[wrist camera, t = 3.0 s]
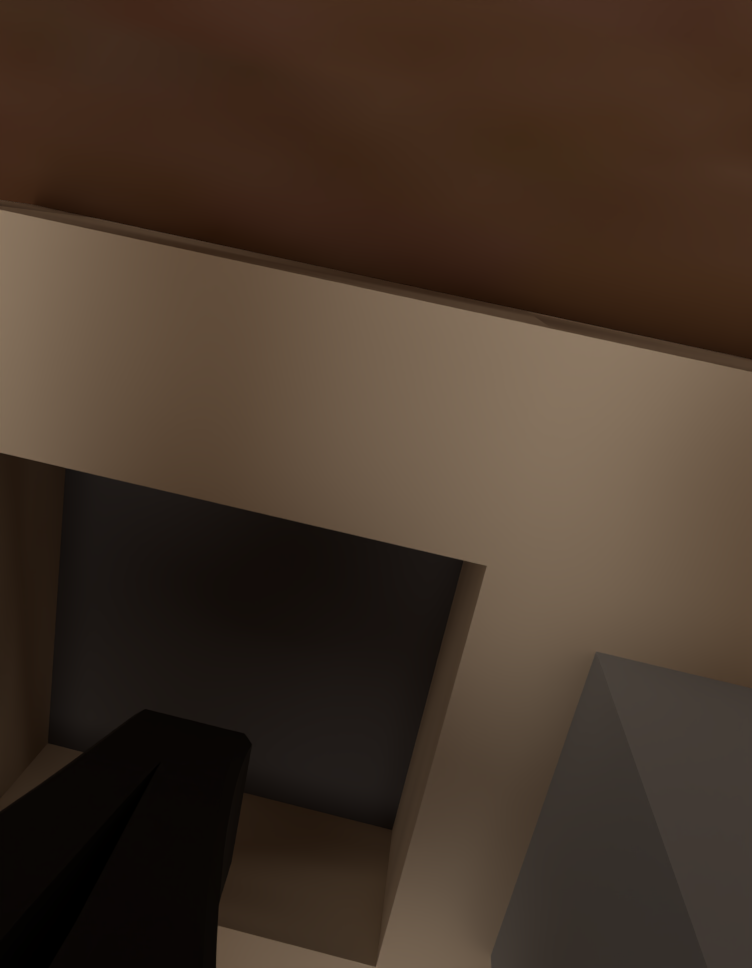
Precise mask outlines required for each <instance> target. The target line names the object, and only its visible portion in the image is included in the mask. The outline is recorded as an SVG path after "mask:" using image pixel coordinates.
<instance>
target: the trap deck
mask: <svg viewBox="0 0 752 968" xmlns="http://www.w3.org/2000/svg"><path fill="white" fill-rule="evenodd" d="M596 652H600V653H605V654H609V655H613V656H617V657H622V658H626V659H630V660H634V661H638V662H643V663H647V664H651V665H655V666H660V667H664V668H668V669H672V670H676V671H681V672H685V673H689V674H693V675H698V676H702V677H706V678H710V679H714V680H719V681H723V682H727V683H731V684H736V685H740V686H744V687H748V688H752V359H748V358H743V357H738V356H734V355H729V354H724V353H720V352H715V351H710V350H706V349H701V348H696V347H692V346H687V345H683V344H678V343H673V342H669V341H664V340H659V339H655V338H650V337H645V336H641V335H636V334H631V333H627V332H622V331H617V330H613V329H608V328H604V327H599V326H594V325H590V324H585V323H580V322H576V321H571V320H566V319H562V318H557V317H552V316H548V315H543V314H538V313H534V312H529V311H525V310H520V309H515V308H511V307H506V306H501V305H497V304H492V303H487V302H483V301H478V300H473V299H469V298H464V297H459V296H455V295H450V294H446V293H441V292H436V291H432V290H427V289H422V288H418V287H413V286H408V285H404V284H399V283H394V282H390V281H385V280H380V279H376V278H371V277H367V276H362V275H357V274H353V273H348V272H343V271H339V270H334V269H329V268H325V267H320V266H315V265H311V264H306V263H301V262H297V261H292V260H288V259H283V258H278V257H274V256H269V255H264V254H260V253H255V252H250V251H246V250H241V249H236V248H232V247H227V246H222V245H218V244H213V243H209V242H204V241H199V240H195V239H190V238H185V237H181V236H176V235H171V234H167V233H162V232H157V231H153V230H148V229H143V228H139V227H134V226H130V225H125V224H120V223H116V222H111V221H106V220H102V219H97V218H92V217H88V216H83V215H78V214H74V213H69V212H64V211H60V210H55V209H51V208H46V207H41V206H37V205H32V204H25V203H18V202H11V201H4V200H0V811H1V810H3V809H4V808H6V807H7V806H9V805H10V804H11V803H13V802H14V801H16V800H17V799H19V798H20V797H22V796H23V795H25V794H26V793H27V792H29V791H30V790H32V789H33V788H35V787H36V786H38V785H39V784H41V783H42V782H43V781H45V780H46V779H48V778H49V777H50V776H52V775H53V774H54V773H56V772H57V771H59V770H60V769H61V768H63V767H64V766H66V765H67V764H68V763H70V762H71V761H73V760H74V759H75V758H77V757H78V756H79V755H81V754H82V753H83V752H85V751H86V750H88V749H89V748H90V747H92V746H93V745H94V744H96V743H97V742H98V741H100V740H101V739H102V738H104V737H105V736H106V735H108V734H109V733H110V732H112V731H113V730H114V729H116V728H117V727H119V726H120V725H121V724H123V723H124V722H125V721H127V720H128V719H129V718H131V717H132V716H133V715H135V714H137V713H138V712H140V711H142V710H144V709H148V710H152V711H156V712H160V713H164V714H168V715H172V716H176V717H180V718H184V719H188V720H192V721H196V722H201V723H205V724H209V725H213V726H217V727H221V728H225V729H229V730H233V731H237V732H241V733H245V735H246V736H247V737H248V739H249V740H250V742H251V743H252V748H251V754H250V760H249V765H248V771H247V777H246V782H245V788H244V794H243V800H242V805H241V811H240V817H239V822H238V828H237V834H236V840H235V845H234V851H233V857H232V862H231V866H230V869H229V872H228V876H227V879H226V882H225V885H224V889H223V892H222V895H221V899H220V903H219V913H218V930H217V952H216V968H491V954H492V951H493V948H494V945H495V942H496V939H497V936H498V934H499V931H500V928H501V925H502V922H503V919H504V916H505V913H506V910H507V907H508V905H509V902H510V899H511V896H512V893H513V890H514V887H515V884H516V881H517V879H518V876H519V873H520V870H521V867H522V864H523V861H524V858H525V855H526V853H527V850H528V847H529V844H530V841H531V838H532V835H533V832H534V829H535V827H536V824H537V821H538V818H539V815H540V812H541V809H542V806H543V803H544V801H545V798H546V795H547V792H548V789H549V786H550V783H551V780H552V777H553V774H554V772H555V769H556V766H557V763H558V760H559V757H560V754H561V751H562V748H563V746H564V743H565V740H566V737H567V734H568V731H569V728H570V725H571V722H572V720H573V717H574V714H575V711H576V708H577V705H578V702H579V699H580V696H581V694H582V691H583V688H584V685H585V682H586V679H587V676H588V673H589V670H590V668H591V665H592V662H593V659H594V656H595V653H596Z"/></svg>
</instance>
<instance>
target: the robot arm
mask: <svg viewBox="0 0 752 968" xmlns="http://www.w3.org/2000/svg"><path fill="white" fill-rule="evenodd" d="M251 748H252V743H251V742H250V740H249V739H248V737H247V736H246V735H245V733H241V732H237V731H233V730H229V729H225V728H221V727H217V726H213V725H209V724H205V723H201V722H196V721H192V720H188V719H184V718H180V717H176V716H172V715H168V714H164V713H160V712H156V711H152V710H148V709H144V710H142V711H140V712H138V713H137V714H135V715H133V716H132V717H131V718H129V719H128V720H127V721H125V722H124V723H123V724H121V725H120V726H119V727H117V728H116V729H114V730H113V731H112V732H110V733H109V734H108V735H106V736H105V737H104V738H102V739H101V740H100V741H98V742H97V743H96V744H94V745H93V746H92V747H90V748H89V749H88V750H86V751H85V752H83V753H82V754H81V755H79V756H78V757H77V758H75V759H74V760H73V761H71V762H70V763H68V764H67V765H66V766H64V767H63V768H61V769H60V770H59V771H57V772H56V773H54V774H53V775H52V776H50V777H49V778H48V779H46V780H45V781H43V782H42V783H41V784H39V785H38V786H36V787H35V788H33V789H32V790H30V791H29V792H27V793H26V794H25V795H23V796H22V797H20V798H19V799H17V800H16V801H14V802H13V803H11V804H10V805H9V806H7V807H6V808H4V809H3V810H1V811H0V968H216V952H217V930H218V913H219V903H220V899H221V895H222V892H223V889H224V885H225V882H226V879H227V876H228V872H229V869H230V866H231V862H232V857H233V851H234V845H235V840H236V834H237V828H238V822H239V817H240V811H241V805H242V800H243V794H244V788H245V782H246V777H247V771H248V765H249V760H250V754H251Z"/></svg>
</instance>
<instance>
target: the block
mask: <svg viewBox="0 0 752 968" xmlns="http://www.w3.org/2000/svg"><path fill="white" fill-rule="evenodd" d="M491 968H752V688H748V687H744V686H740V685H736V684H731V683H727V682H723V681H719V680H714V679H710V678H706V677H702V676H698V675H693V674H689V673H685V672H681V671H676V670H672V669H668V668H664V667H660V666H655V665H651V664H647V663H643V662H638V661H634V660H630V659H626V658H622V657H617V656H613V655H609V654H605V653H600V652H596V653H595V656H594V659H593V662H592V665H591V668H590V670H589V673H588V676H587V679H586V682H585V685H584V688H583V691H582V694H581V696H580V699H579V702H578V705H577V708H576V711H575V714H574V717H573V720H572V722H571V725H570V728H569V731H568V734H567V737H566V740H565V743H564V746H563V748H562V751H561V754H560V757H559V760H558V763H557V766H556V769H555V772H554V774H553V777H552V780H551V783H550V786H549V789H548V792H547V795H546V798H545V801H544V803H543V806H542V809H541V812H540V815H539V818H538V821H537V824H536V827H535V829H534V832H533V835H532V838H531V841H530V844H529V847H528V850H527V853H526V855H525V858H524V861H523V864H522V867H521V870H520V873H519V876H518V879H517V881H516V884H515V887H514V890H513V893H512V896H511V899H510V902H509V905H508V907H507V910H506V913H505V916H504V919H503V922H502V925H501V928H500V931H499V934H498V936H497V939H496V942H495V945H494V948H493V951H492V954H491Z"/></svg>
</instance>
